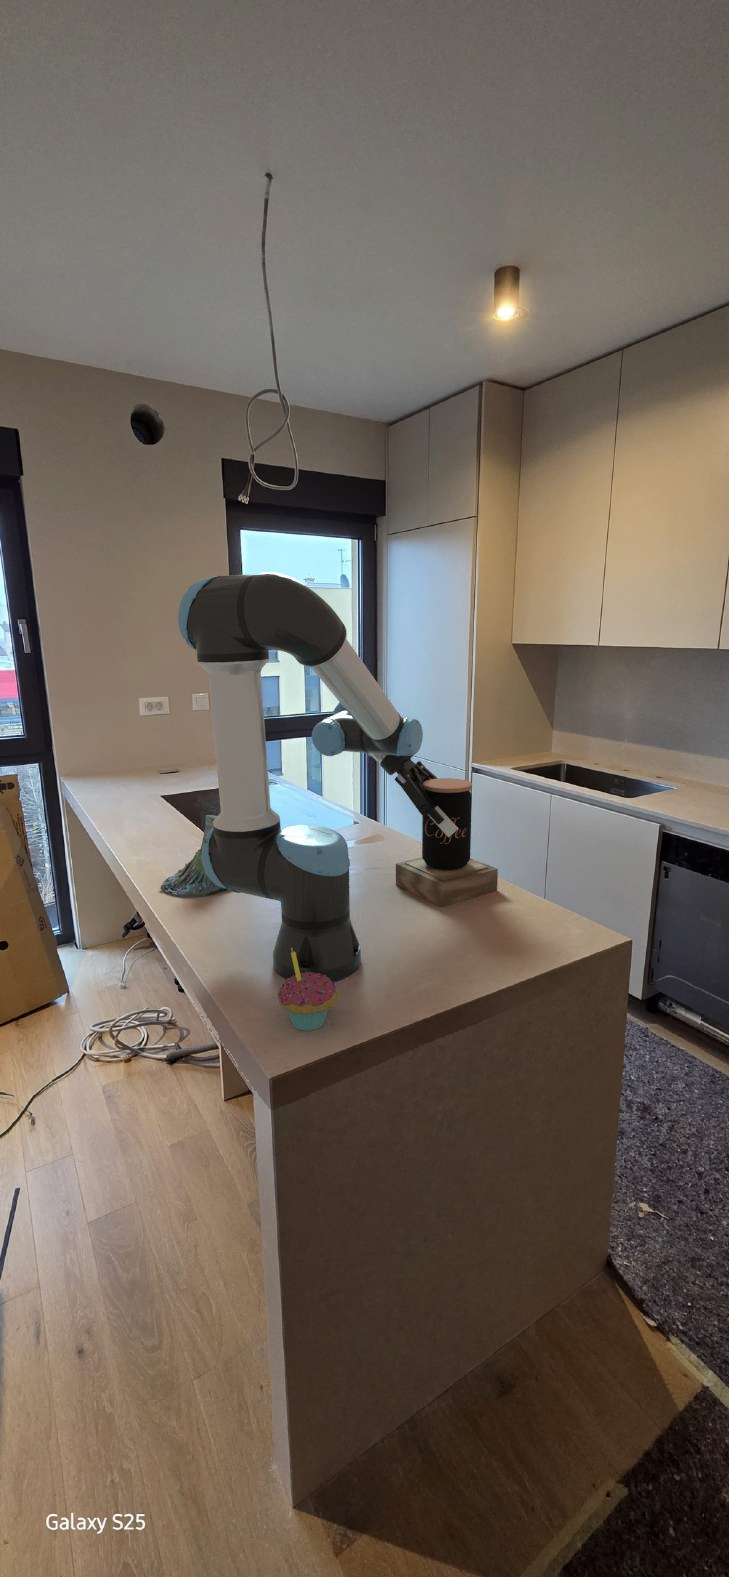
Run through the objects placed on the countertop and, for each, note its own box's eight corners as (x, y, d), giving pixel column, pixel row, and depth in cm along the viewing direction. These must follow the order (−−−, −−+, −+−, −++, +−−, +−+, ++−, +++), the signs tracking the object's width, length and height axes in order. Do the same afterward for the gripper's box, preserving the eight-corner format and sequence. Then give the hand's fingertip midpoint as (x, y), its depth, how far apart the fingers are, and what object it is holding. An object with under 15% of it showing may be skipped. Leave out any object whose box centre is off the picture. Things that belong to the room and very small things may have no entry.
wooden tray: (497, 890, 145) (497, 867, 144) (441, 906, 137) (441, 882, 136) (449, 870, 158) (449, 849, 157) (395, 884, 150) (395, 862, 149)
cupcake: (283, 1042, 91) (280, 963, 89) (275, 1010, 99) (271, 937, 97) (343, 1032, 94) (341, 954, 91) (330, 1001, 102) (328, 929, 99)
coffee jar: (417, 867, 143) (417, 787, 139) (427, 852, 153) (427, 777, 149) (466, 872, 140) (468, 789, 136) (473, 856, 150) (475, 779, 146)
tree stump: (150, 880, 156) (161, 806, 155) (230, 883, 167) (241, 814, 166) (171, 902, 141) (184, 819, 140) (257, 903, 151) (270, 827, 150)
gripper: (395, 754, 157) (458, 822, 155) (361, 772, 136) (434, 852, 134) (416, 733, 154) (481, 802, 152) (385, 748, 133) (460, 829, 131)
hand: (459, 825), depth 143 cm, fingers closed on coffee jar, 11 cm apart
